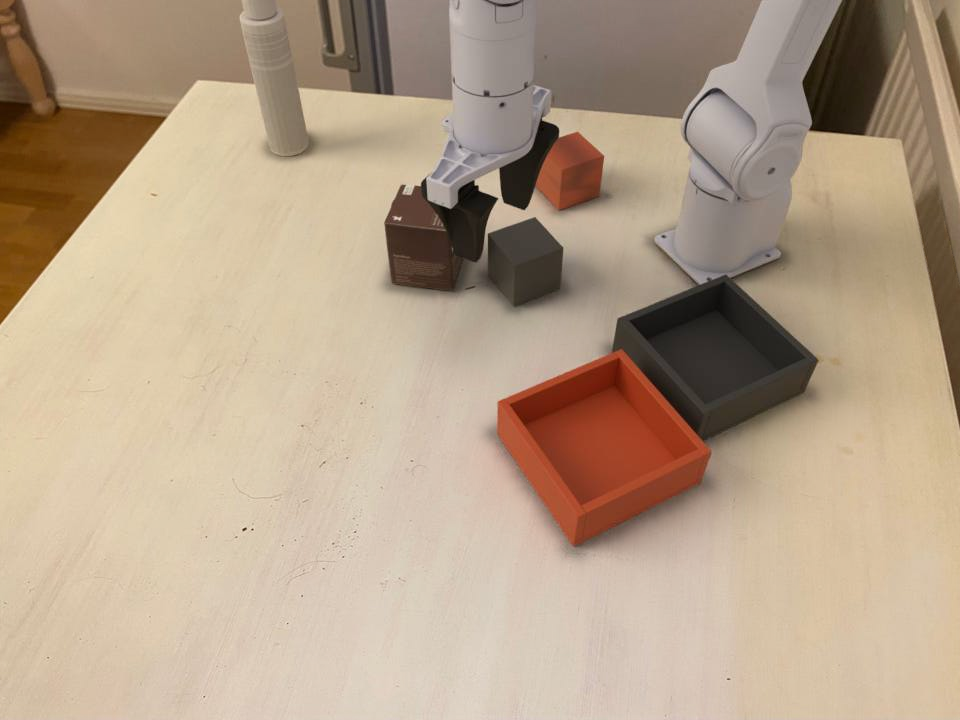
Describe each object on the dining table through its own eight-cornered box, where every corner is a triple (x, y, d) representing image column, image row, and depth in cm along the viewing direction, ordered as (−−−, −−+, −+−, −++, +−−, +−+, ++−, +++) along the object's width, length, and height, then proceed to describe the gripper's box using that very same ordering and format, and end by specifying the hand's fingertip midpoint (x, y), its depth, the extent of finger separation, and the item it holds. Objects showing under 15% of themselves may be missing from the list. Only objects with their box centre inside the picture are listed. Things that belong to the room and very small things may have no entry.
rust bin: (615, 381, 68) (621, 348, 65) (701, 482, 61) (712, 451, 58) (496, 433, 65) (497, 401, 62) (573, 547, 58) (578, 517, 55)
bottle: (312, 135, 93) (278, -46, 78) (303, 157, 90) (266, -27, 75) (275, 133, 93) (234, -48, 78) (265, 155, 90) (220, -28, 75)
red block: (573, 171, 88) (577, 131, 84) (599, 196, 85) (604, 155, 81) (534, 184, 86) (536, 144, 83) (558, 210, 83) (562, 170, 80)
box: (452, 293, 75) (449, 231, 70) (389, 285, 76) (382, 223, 71) (466, 251, 79) (464, 189, 74) (406, 243, 80) (400, 181, 75)
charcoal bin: (716, 307, 74) (726, 273, 71) (804, 392, 67) (819, 359, 64) (611, 351, 70) (617, 318, 67) (693, 446, 64) (703, 413, 61)
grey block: (532, 257, 79) (535, 216, 75) (560, 289, 76) (563, 247, 72) (487, 274, 77) (487, 233, 73) (513, 306, 74) (514, 266, 70)
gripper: (497, 19, 62) (496, 169, 72) (383, 108, 53) (400, 263, 64) (580, 42, 59) (567, 194, 69) (474, 139, 51) (477, 296, 61)
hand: (492, 229), depth 66 cm, fingers open, 7 cm apart
